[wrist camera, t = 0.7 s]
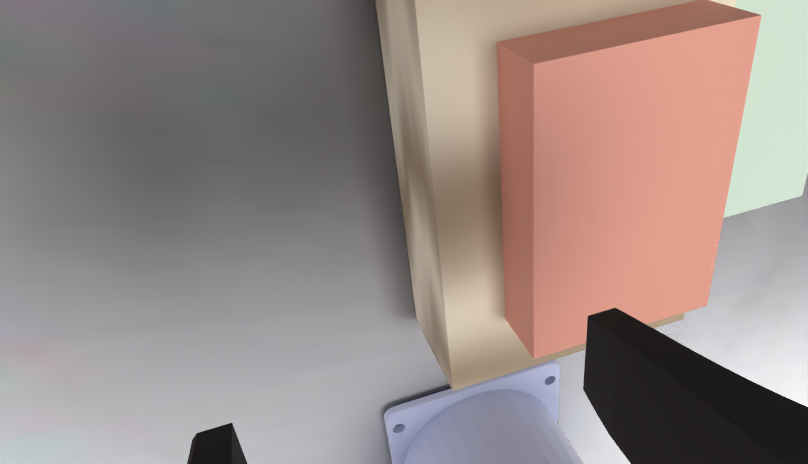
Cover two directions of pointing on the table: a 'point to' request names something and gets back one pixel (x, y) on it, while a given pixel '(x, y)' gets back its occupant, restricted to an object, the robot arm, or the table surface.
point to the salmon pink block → (618, 165)
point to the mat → (773, 110)
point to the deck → (465, 165)
